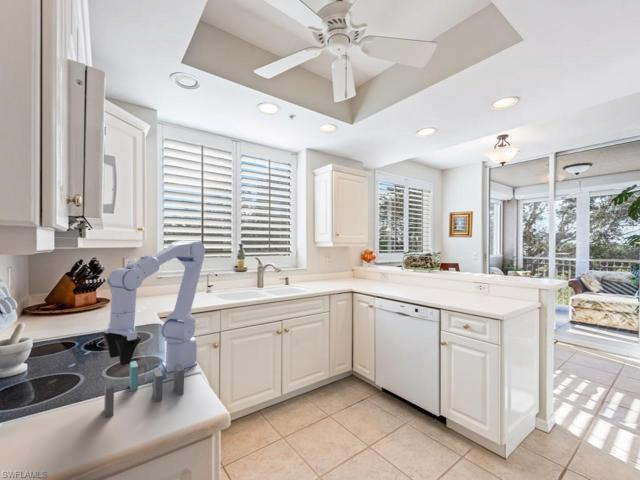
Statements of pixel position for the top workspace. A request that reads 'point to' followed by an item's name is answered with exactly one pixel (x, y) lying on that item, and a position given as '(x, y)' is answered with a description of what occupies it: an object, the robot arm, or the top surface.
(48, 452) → the top surface
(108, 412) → the domino
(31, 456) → the top surface
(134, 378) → the domino
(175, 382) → the domino
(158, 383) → the domino
